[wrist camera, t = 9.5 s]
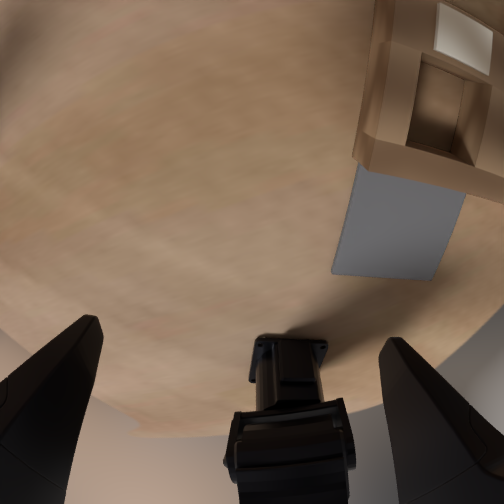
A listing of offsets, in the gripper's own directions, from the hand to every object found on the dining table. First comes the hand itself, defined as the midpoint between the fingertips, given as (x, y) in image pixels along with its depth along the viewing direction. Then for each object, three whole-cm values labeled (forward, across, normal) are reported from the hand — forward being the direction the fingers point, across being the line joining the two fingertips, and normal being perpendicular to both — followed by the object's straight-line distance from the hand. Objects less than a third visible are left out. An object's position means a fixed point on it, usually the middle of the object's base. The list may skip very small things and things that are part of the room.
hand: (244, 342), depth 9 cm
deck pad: (+12, -11, +1) cm, 16 cm away
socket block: (+12, -15, -8) cm, 21 cm away
